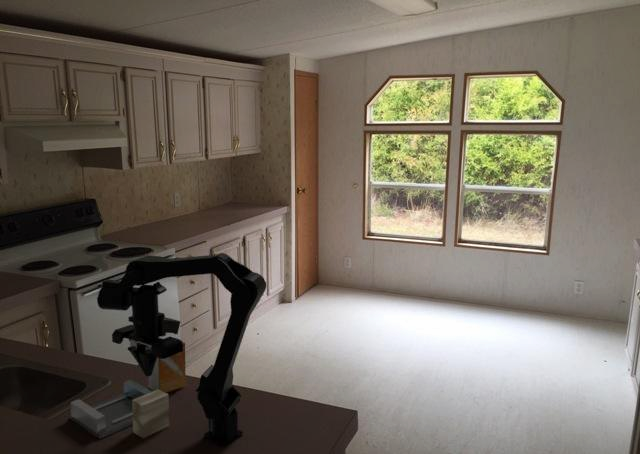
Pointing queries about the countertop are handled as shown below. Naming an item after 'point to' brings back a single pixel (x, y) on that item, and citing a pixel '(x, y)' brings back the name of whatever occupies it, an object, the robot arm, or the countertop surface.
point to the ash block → (150, 413)
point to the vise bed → (111, 416)
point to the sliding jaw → (135, 389)
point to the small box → (169, 373)
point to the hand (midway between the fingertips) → (148, 375)
